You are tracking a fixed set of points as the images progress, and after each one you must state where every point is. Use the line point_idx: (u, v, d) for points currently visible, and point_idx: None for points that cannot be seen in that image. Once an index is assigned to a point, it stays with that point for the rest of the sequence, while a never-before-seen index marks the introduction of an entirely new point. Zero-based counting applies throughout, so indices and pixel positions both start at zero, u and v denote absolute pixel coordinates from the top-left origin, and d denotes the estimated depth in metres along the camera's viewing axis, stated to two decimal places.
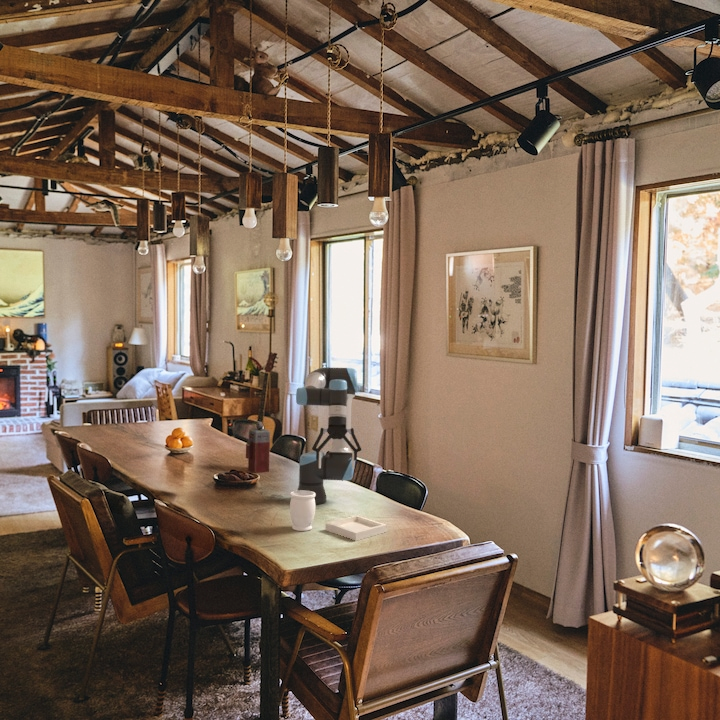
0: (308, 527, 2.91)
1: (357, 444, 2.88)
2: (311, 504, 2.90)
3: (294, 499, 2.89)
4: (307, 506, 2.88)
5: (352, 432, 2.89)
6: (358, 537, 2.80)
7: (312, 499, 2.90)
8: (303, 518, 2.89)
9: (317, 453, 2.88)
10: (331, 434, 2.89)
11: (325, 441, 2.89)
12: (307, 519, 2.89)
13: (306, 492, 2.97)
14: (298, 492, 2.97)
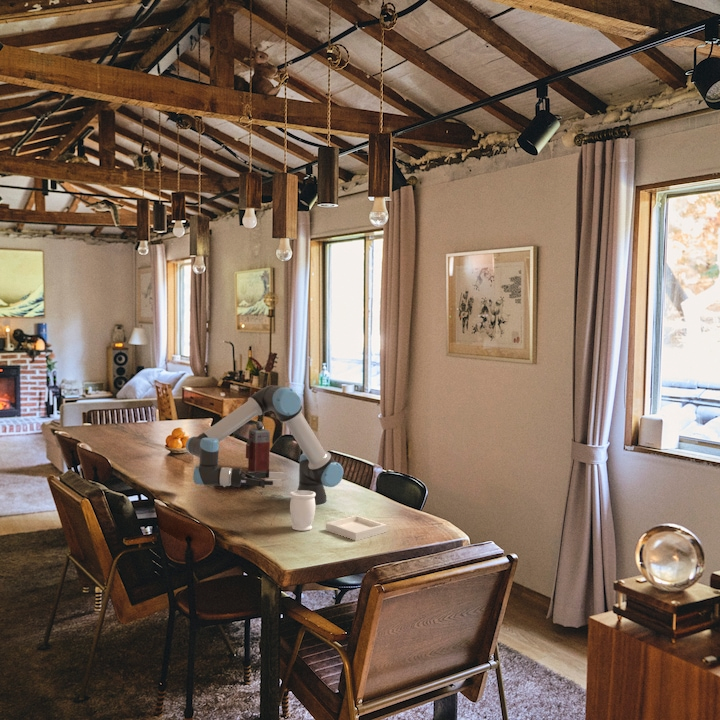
0: (308, 527, 2.91)
1: None
2: (311, 504, 2.90)
3: (294, 499, 2.90)
4: (306, 506, 2.88)
5: None
6: (358, 537, 2.80)
7: (312, 499, 2.91)
8: (303, 518, 2.89)
9: None
10: None
11: None
12: (306, 518, 2.89)
13: (306, 492, 2.97)
14: (298, 492, 2.97)
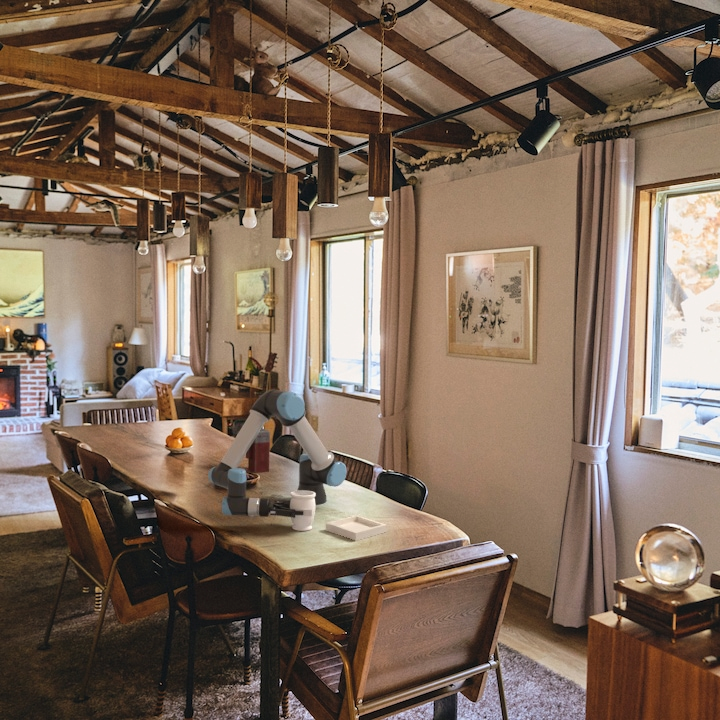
0: (308, 527, 2.91)
1: None
2: (312, 504, 2.90)
3: (294, 499, 2.89)
4: (307, 506, 2.88)
5: None
6: (358, 537, 2.80)
7: (312, 499, 2.90)
8: (303, 518, 2.89)
9: None
10: None
11: None
12: (307, 519, 2.89)
13: (306, 492, 2.97)
14: (298, 492, 2.97)
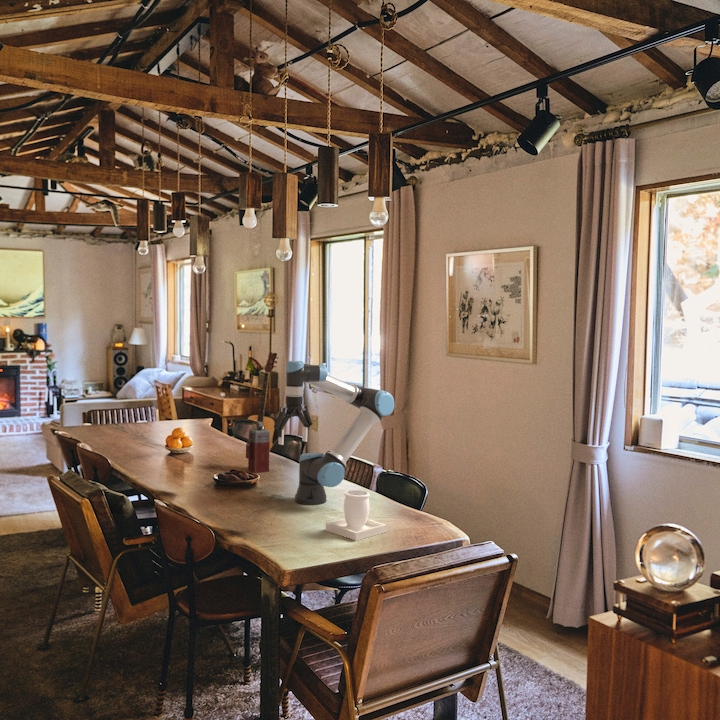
0: (362, 527, 2.89)
1: None
2: (366, 504, 2.88)
3: (349, 499, 2.88)
4: (361, 506, 2.86)
5: None
6: (358, 537, 2.80)
7: (366, 499, 2.89)
8: (358, 518, 2.87)
9: None
10: None
11: None
12: (361, 519, 2.87)
13: (359, 492, 2.96)
14: (351, 492, 2.95)
